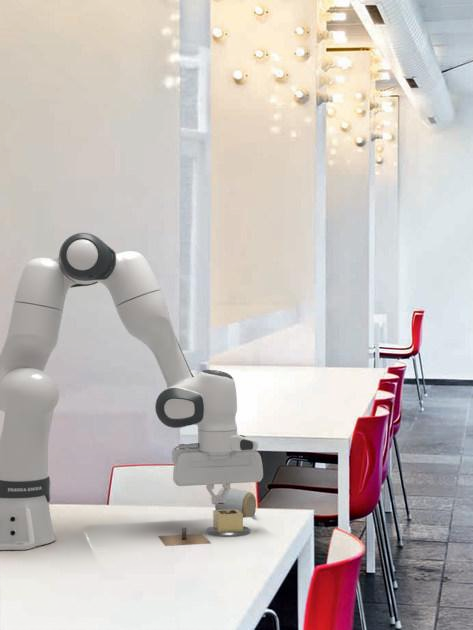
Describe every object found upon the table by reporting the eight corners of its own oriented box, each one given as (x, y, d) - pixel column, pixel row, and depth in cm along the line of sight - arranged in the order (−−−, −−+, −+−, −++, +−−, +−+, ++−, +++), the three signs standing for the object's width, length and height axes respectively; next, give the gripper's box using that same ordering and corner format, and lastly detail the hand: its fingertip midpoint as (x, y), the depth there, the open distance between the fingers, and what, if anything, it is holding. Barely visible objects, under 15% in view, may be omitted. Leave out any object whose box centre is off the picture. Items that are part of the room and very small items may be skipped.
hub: (211, 544, 244) (210, 516, 244) (202, 535, 253) (201, 507, 253) (255, 542, 246) (255, 513, 246) (244, 532, 256) (244, 505, 256)
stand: (165, 552, 236) (165, 534, 236) (157, 542, 246) (157, 524, 246) (211, 550, 239) (211, 531, 238) (202, 540, 248) (202, 522, 248)
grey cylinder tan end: (244, 524, 266) (244, 492, 266) (214, 520, 269) (214, 489, 269) (263, 516, 275) (263, 485, 275) (234, 513, 279) (234, 483, 279)
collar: (218, 533, 246) (218, 515, 246) (213, 527, 252) (213, 510, 252) (242, 531, 247) (242, 513, 247) (237, 526, 253) (237, 509, 253)
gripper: (174, 446, 243) (175, 508, 244) (264, 442, 248) (265, 503, 248) (169, 442, 250) (170, 503, 250) (257, 438, 254) (258, 498, 255)
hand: (218, 503), depth 249 cm, fingers closed
